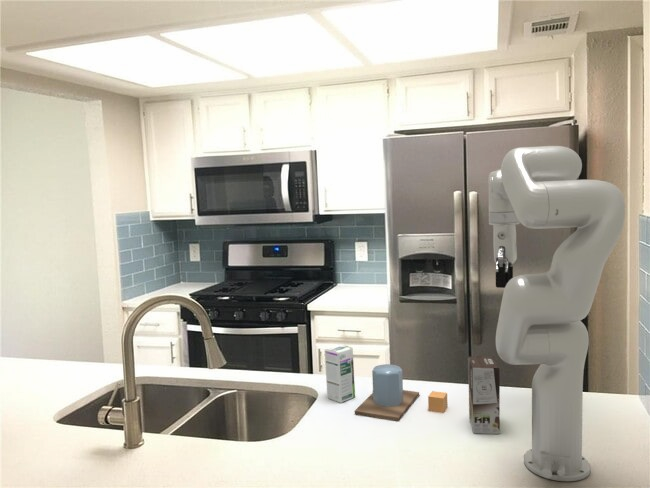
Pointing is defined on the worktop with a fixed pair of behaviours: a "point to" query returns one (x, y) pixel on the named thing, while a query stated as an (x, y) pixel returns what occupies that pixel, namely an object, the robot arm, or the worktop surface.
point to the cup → (387, 385)
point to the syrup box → (340, 373)
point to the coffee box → (484, 394)
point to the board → (384, 412)
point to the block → (437, 402)
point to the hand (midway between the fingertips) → (504, 284)
